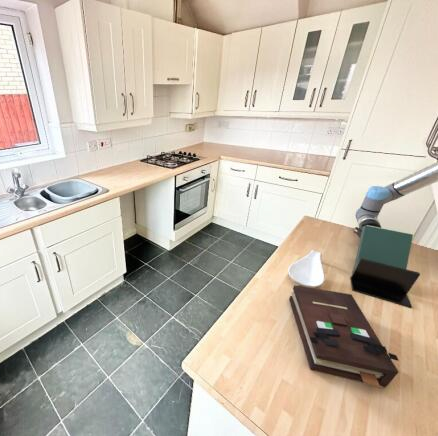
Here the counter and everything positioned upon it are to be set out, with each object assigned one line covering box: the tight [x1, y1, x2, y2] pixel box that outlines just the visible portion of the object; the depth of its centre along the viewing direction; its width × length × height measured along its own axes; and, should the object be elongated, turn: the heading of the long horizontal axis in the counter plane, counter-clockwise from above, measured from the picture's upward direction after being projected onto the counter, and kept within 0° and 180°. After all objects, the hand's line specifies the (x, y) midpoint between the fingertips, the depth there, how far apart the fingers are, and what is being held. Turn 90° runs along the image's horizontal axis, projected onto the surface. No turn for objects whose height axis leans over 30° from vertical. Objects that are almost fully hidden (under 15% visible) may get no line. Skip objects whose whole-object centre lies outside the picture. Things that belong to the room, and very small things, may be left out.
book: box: [352, 225, 414, 272], centre depth 93 cm, size 14×20×3 cm
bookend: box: [349, 258, 421, 309], centre depth 86 cm, size 16×8×10 cm, turn 59°
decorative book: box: [288, 284, 400, 388], centre depth 71 cm, size 19×8×30 cm
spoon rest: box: [287, 249, 325, 289], centre depth 96 cm, size 24×12×7 cm, turn 138°
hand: (378, 251), depth 96 cm, fingers closed
